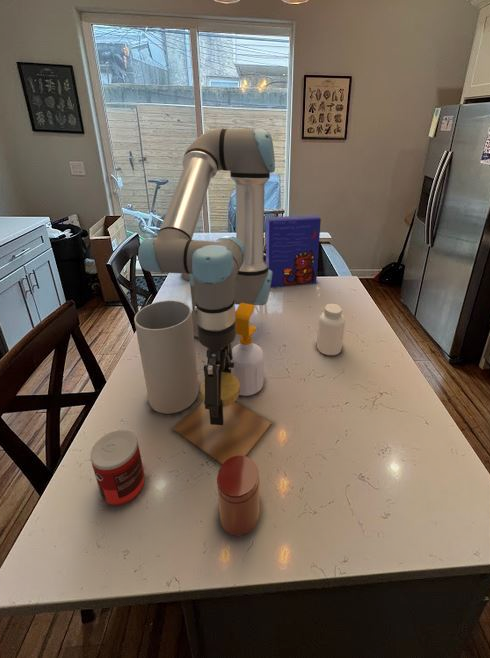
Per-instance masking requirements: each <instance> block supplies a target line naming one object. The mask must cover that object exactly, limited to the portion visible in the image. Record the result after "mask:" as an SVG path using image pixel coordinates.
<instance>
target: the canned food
mask: <svg viewBox="0 0 490 658" xmlns="http://www.w3.org/2000/svg"><path fill="white" fill-rule="evenodd" d="M90 462H91V466H92V470H93V473H94V476H95V480H96V483H97V487H98V489H99V492H100V496H101V498H102V499H103V501H104V502H106V503H107V504H108V505H111V506H122V505H125V504H127V503H130V502H131V501H133V500H134V499H135V498H137V496H138V495H139V494H140V492H141V491H142V489H143V486H144V484H145V478H146V476H145V470H144V465H143V461H142V455H141V450H140V447H139V441H138V438H137V435H136V434H135V433H134V432H132V431H130V430H128V429H118V430H113V431H110V432H108V433H107V434H104V435H103V436H102V437H101V438H99V439H98V440H97V441H96V442H95V443H94V445H93V447H92V448H91V452H90Z"/></svg>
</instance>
